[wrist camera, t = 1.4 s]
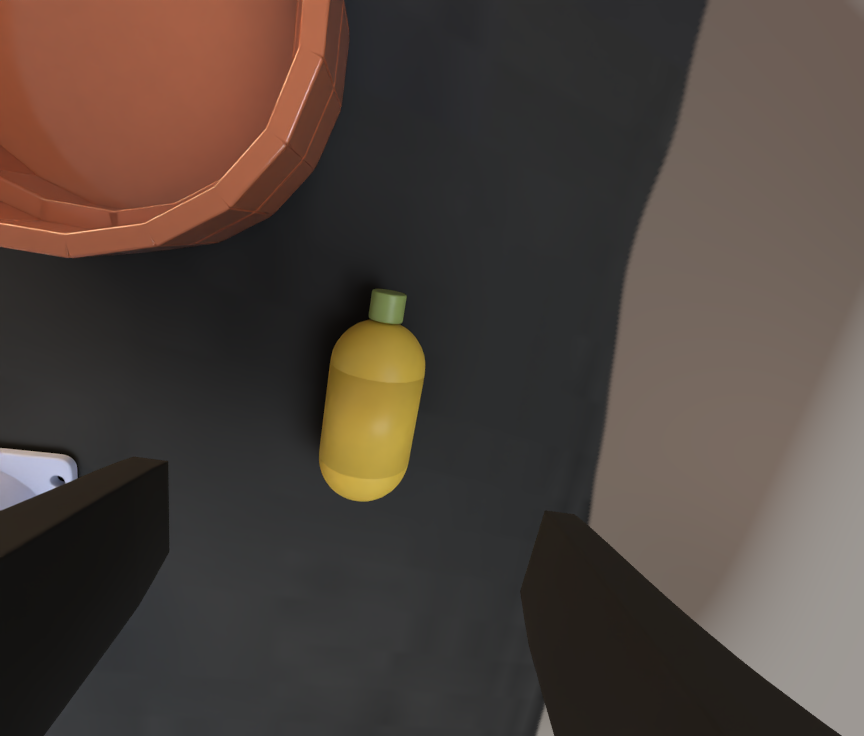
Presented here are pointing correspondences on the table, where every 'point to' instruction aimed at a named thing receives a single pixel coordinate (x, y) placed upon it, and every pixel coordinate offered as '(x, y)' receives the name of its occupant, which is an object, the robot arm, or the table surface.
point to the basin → (160, 118)
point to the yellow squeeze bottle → (372, 402)
